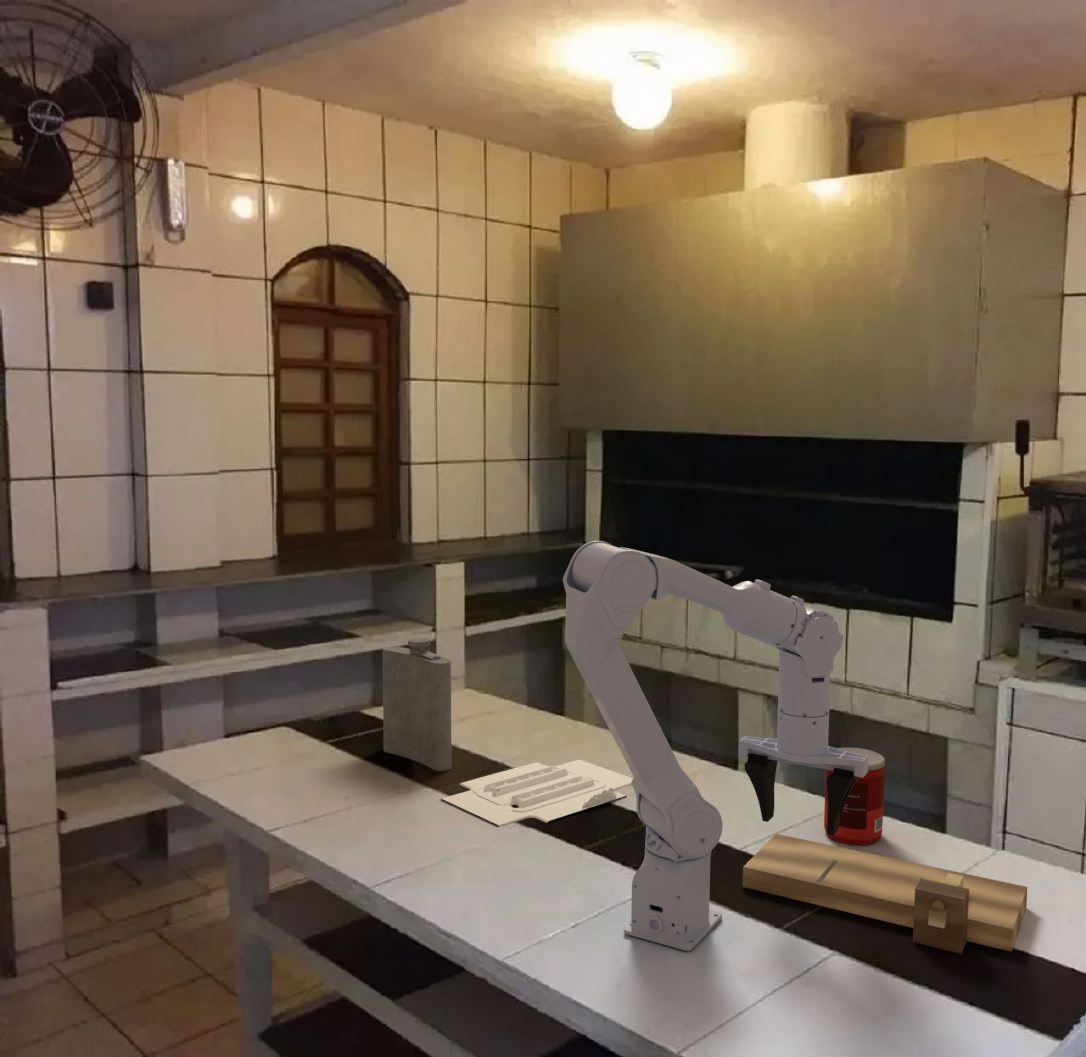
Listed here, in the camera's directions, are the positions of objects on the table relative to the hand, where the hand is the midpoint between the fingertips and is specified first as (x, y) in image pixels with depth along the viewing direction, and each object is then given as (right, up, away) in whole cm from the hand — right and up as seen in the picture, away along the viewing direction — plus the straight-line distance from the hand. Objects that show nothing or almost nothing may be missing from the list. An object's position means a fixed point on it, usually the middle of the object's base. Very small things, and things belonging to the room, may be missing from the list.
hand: (799, 825), depth 124 cm
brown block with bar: (+15, -10, -5) cm, 19 cm away
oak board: (+10, -9, +3) cm, 14 cm away
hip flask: (-50, -4, +53) cm, 73 cm away
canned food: (+12, -7, +21) cm, 26 cm away
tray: (-30, -6, +38) cm, 49 cm away
